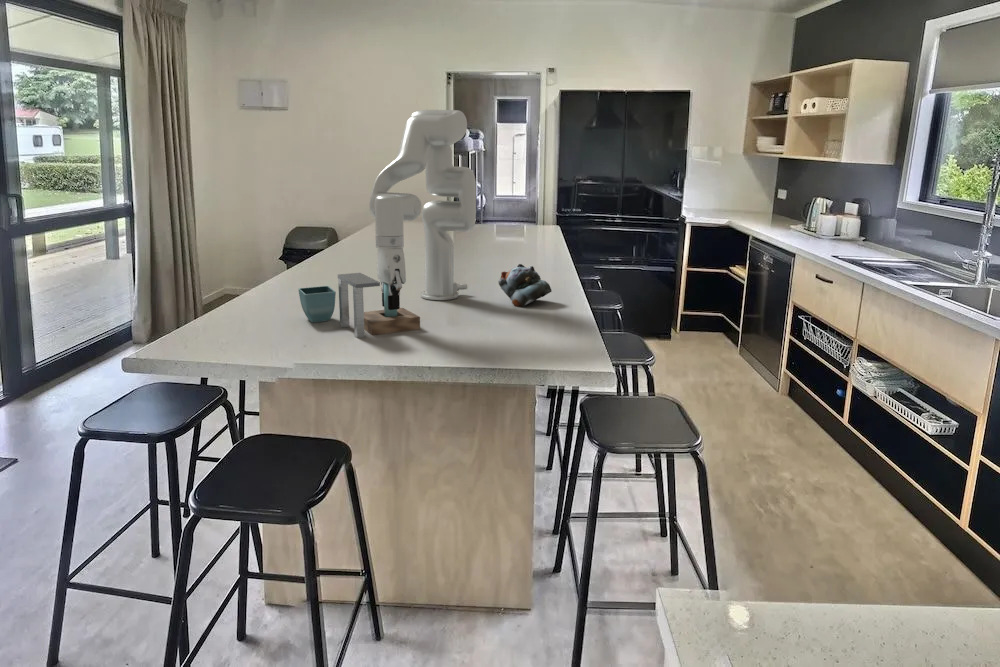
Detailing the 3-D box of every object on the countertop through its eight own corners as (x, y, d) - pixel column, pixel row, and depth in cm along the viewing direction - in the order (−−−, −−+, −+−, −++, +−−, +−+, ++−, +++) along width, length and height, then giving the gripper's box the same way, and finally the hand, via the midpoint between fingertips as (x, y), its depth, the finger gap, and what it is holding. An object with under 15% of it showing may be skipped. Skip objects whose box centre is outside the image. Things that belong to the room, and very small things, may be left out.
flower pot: (306, 325, 200) (304, 294, 197) (299, 318, 207) (297, 287, 205) (337, 322, 204) (336, 291, 201) (329, 315, 211) (328, 285, 209)
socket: (403, 319, 208) (402, 307, 207) (420, 329, 198) (419, 316, 197) (356, 324, 201) (356, 312, 200) (372, 335, 191) (371, 322, 190)
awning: (361, 322, 203) (360, 272, 199) (381, 335, 191) (379, 282, 187) (339, 325, 200) (337, 274, 196) (357, 338, 188) (356, 284, 184)
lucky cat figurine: (517, 309, 223) (500, 268, 223) (506, 315, 234) (489, 276, 235) (558, 292, 228) (541, 252, 228) (545, 299, 239) (529, 261, 239)
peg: (394, 316, 202) (393, 281, 199) (399, 319, 199) (398, 283, 196) (382, 317, 200) (381, 282, 197) (387, 320, 197) (386, 284, 194)
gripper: (414, 245, 189) (415, 312, 193) (391, 237, 202) (392, 300, 207) (388, 246, 185) (389, 315, 190) (365, 238, 199) (367, 303, 203)
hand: (390, 307), depth 198 cm, fingers closed on peg, 3 cm apart
